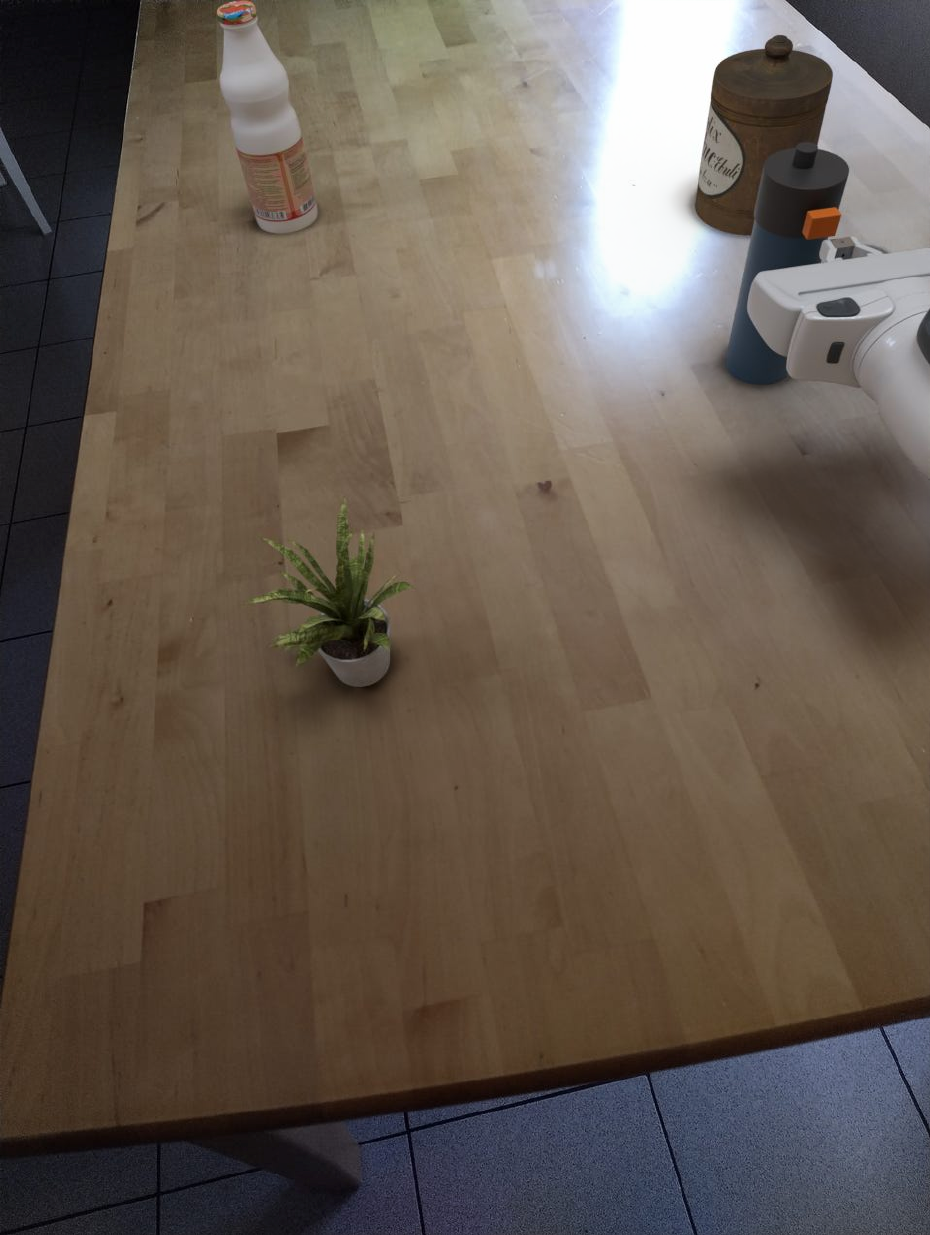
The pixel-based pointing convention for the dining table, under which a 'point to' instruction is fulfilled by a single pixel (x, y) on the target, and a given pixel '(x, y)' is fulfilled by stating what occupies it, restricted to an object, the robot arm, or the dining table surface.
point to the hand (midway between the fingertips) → (835, 245)
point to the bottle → (781, 244)
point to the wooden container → (756, 126)
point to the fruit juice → (264, 124)
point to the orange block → (821, 223)
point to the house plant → (340, 611)
